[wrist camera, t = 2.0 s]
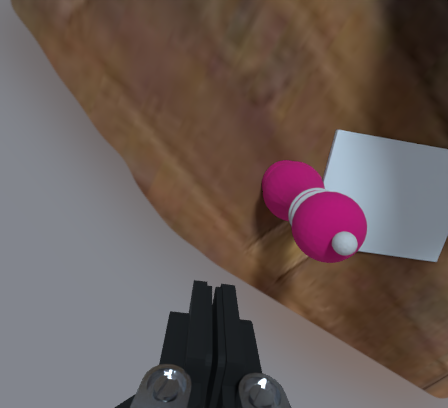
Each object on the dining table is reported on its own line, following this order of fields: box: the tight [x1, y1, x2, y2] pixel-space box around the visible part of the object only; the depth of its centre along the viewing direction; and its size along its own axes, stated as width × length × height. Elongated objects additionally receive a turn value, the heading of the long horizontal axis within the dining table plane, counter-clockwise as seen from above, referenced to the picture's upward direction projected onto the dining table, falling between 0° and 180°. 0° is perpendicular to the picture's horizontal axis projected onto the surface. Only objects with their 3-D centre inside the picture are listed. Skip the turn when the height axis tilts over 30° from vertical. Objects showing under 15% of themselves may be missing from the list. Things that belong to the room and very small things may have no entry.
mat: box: [323, 129, 448, 262], centre depth 41 cm, size 16×20×1 cm
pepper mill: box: [262, 160, 367, 263], centre depth 31 cm, size 7×7×20 cm
